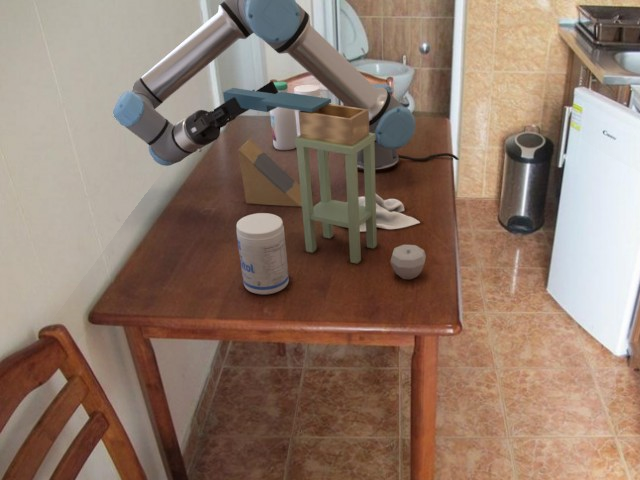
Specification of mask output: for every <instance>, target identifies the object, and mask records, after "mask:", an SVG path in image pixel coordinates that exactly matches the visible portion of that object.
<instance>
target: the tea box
mask: <svg viewBox="0 0 640 480" xmlns="http://www.w3.org/2000/svg"><path fill="white" fill-rule="evenodd" d="M299 123H300V133H301V134H300V135H301V137H303V138H309V139H314V140H320V141H326V142H332V143H338V144H344V145H349V146H353V145H354V144H356V143H357V142H359V141H360V140H362V139H363V138H365V137H367V136H368V135H369V110H368V109H361V108H355V107H348V106H346V105H340V104H333V103H329V104H327V105H325V106H323V107H321V108H320V109H318V110H316V111H314V112H307V111H299Z"/></svg>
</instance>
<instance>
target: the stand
mask: <svg viewBox="0 0 640 480" xmlns="http://www.w3.org/2000/svg"><path fill="white" fill-rule="evenodd" d="M294 140H295V145H296V155H297V156H296V158H297V168H298V179H299V185H300V191H301V202H302V206H301V212H302V221H303V222H302V223H303V233H304V243H305V244H304V245H305V252H308V253H312V254H313V253H314V252H315V251H316V250H317V240H316V239H317V237H316V226H315V222H320V223H322V235H323V238H325V239H331V238H332V237H334V226H337V227H342V228H347V229H348V242H349V243H348V244H349V261H350V263H352V264H356V265H357V264H359V263H360V262H361V261H362V253H361V252H362V251H361V232H360V225H361V224H363V223H364V222H365V221H366V231H365V236H366V237H365V238H366V239H365V240H366V248H368V249H375V248H376V247H377V246H378V231H377V230H378V228H377V227H376V194H377V193H376V191H377V190H376V189H377V187H376V172H375V149H374V141H375V134H374V133H369V135H368V136H367V137H365V138H363V139H362V140H360V141H359V142H357V143H356V144H354V145H353V146H349V145H344V144H338V143H332V142H326V141H320V140H314V139H309V138H303V137H301V135H300V136H298V137H296V138H294ZM309 149H315V150H316V152H317V166H318V180H319V181H318V182H319V193H320V194H319V195H320V201H319V202H318V203H316V204H315V205H314V202H313V201H314V200H313V189H312V178H311V167H310V166H311V165H310V151H309ZM362 149H363V153H364V172H363V177H364V180H363V181H364V197H365V206H360V205H359V198H358V197H359V178H358V174H359V173H358V170H357V152H359V151H360V150H362ZM329 152H331V153H336V154H342V155H344V164H345V182H346V183H345V184H346V185H345V186H346V202H345V201H340V200H336V199H332V190H331V189H332V188H331V187H332V186H331V175H330V173H331V172H330V158H329Z"/></svg>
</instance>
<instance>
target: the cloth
mask: <svg viewBox="0 0 640 480" xmlns="http://www.w3.org/2000/svg"><path fill="white" fill-rule="evenodd" d="M358 198H359V205H360V206H365V195H363V196H358ZM404 211H406V210H405V205H404V204H403V202H402V201H400V200H399V199H396V198H388V199H383V198H382V197H381V196H380V195H378V194H377V193H376V228H377V229H382V230H383V229H384V230H400V229H405V228H408V227H412V226H415V225H418V224H421V222H420V221H419V220H418V219H416V218H415V217H413V216H410V215H406V214H404V213H402V212H404ZM364 232H365V233H366V221H365V222H364V223H363V224H361V225H360V233H364Z"/></svg>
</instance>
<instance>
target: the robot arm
mask: <svg viewBox="0 0 640 480" xmlns="http://www.w3.org/2000/svg"><path fill="white" fill-rule="evenodd" d="M253 34H255V36H257V37H258V38H259V39H261V40H263V41H264V42H265V43H266V44H267V45H268V46H270V48H272V49H273V50H274V52H276V53H277V54H278V55H279V54H288V55H289V56H290V57H291V58H292V59H293V60H294V61H296V62H297V63H298V64H299V65H300V66H301V67H302V68H303V69H304V70H306V72H308V73H309V74H310V75H312V77H314V79H316V81H318V82H319V83H320V84H321V85H322V86H323V87H324V88H325V89H327V90H328V91H329V92H330V93H331V94H332V95H333V96H335V98H337V99H338V100H339V101H340V102H341V103H342V104H343V105H344V106H348V107H355V108H361V109H368V110H369V133H374V134H375V141H374V149H375V173H383V172H387V171H390V170H393V169H395V168H396V167H398V165H399V164H400V159H403V160H409V161H412V162H413V161H415V162H423V161H428V160H430V159H433V158H439V157H451V158H452V159H454V160H456V161H459V160H460V159H459V157H457V156H456V155H455V154H453V153H451V152H450V153H449V152H440V153H436V154H435V153H434V154H430V155H427V156H426V157H411V156H406V155H401V154H399V153H398V150H397V149H401V148H403V147H406V145H407V144H409V142H410V141H411V140H412V139H413V137H414V135H415V131H416V123H417V122H416V119H415V116H414V114H413V113H412V111H411V110H410V109H409V108H408V107H405V106H404V105H403V104H402V103H400V102H399V100H397V98H395V97H394V96H393V93H394V92H393V88H392V86H391V85H390V84H385V83H371V82H370V81H369V79H367V78H366V77H365V76H364V75H363V74H362V73H361V72H360V71H359V70H357V68H356V67H355V66H354V65H352V63H350V61H348V59H346V58H345V57H344V56H343V55H342V53H340V52H339V51H338V50H337V49H336V48H335V47H334V46H333V45H332V44H331V43H330V42H329V41H328V40H326V38H325V37H324V36H322V35H321V33H319V32H318V31H317V30H316V29H315V28H314V27H313V26H312V25H311V16H310V14H309V13H308V12H307V11H306V10H305V9H304V8H303V7H302V6H300V5H299V3H298V2H297V1H296V0H224V1H222V2H221V3H220V4H218V11H217V12H216V14H214V15H213V16H211V18H209V19H208V20H207V21H206V22H205V23H203V24H202V25H201V26H200V27H199V28H197V29H196V30H195V31H194V32H193V33H192V34H191V35H189V36H187V38H186V39H185V40H183V41H182V42H181V43H180V44H179V45H177V46H176V47H175V48H174V49H173V50H172V51H171V52H169V53H168V54H167V55H166V56H164V57H163V58H162V59H161V60H160V61H158V62H157V63H156V64H155V65H154V66H153V67H151V68H150V69H148V71H147V72H146V73H144V74H143V75H142V76H141V77H140V78H139V79H137V80H136V81H135V82H133V83H134V86H133V90H132V91H126V92H124V93H123V94H122V95H121V96H120V95H119V96H118V98H119V99H118V98H117V99H118V101H117V103H116V105H115V108H114V110H113V114H114V117H115V118H116V119H115V118H114V117H113V118H114V119H115V120H116V121H117V122H118V123H119V125H121V126H122V127H124V128H126V129H127V130H128V131H130V132H131V133H132V134H134V135H135V136H137V137H138V138H139V139H141V141H143V142H144V143H146V145H148V152H149V155H150V156H151V157H152V159H153V160H154V162H155V163H156V164H158V165H161V166H164V167H167V166H168V167H169V166H172V165H174V164H177V163H180V162H182V161H183V160H184V159H186V158H187V157H188V156H191V155H192V154H194V153H195V152H198V153H201V152H202V150H203V149H202V148H205V146H208V145H209V144H211V143H213V142H215V141H216V140H217V139H219V137H220V135H221V128H223V127H225V126H227V124H228V123H230V122H232V121H234V120H236V119H237V117H238V116H240V115H242V114H244V113H246V112H247V111H250V109H244V108H241V107H240V105H239V103H238V102H237V100H236V98H235V97H233V98H231V99H230V100H228V101H227V102H223V103H222V104H220V105H219V106H217V107H216V108H214V109H213V110H209V111H208V110H206V109H199V110H198V109H197V110H196V111H194V112H193V113H192V114H190V115H188V116H186V117H185V118H183V119H181V120H180V121H178V122H177V123H176V124H173V123H172V122H170V121H169V120H168V119H167V118H166V117H164V116H163V115H162V114H161V113H160V112H159V111H157V110H156V109H157V108H159V106H160V105H162V104H163V103H164V102H165V101H166V100H167V99H169V98H170V97H171V96H173V94H174V93H176V92H177V91H178V90H180V89H181V88H182V87H183V86H184V85H185V84H187V83H188V82H189V81H190V80H191V79H193V78H194V77H195V76H196V75H197V74H198V73H200V72H201V71H203V70H204V69H205V68H206V67H207V66H208V65H209V64H211V63H212V62H213V61H214V60H215V59H217V58H218V57H219V56H220V55H221V54H223V53H224V52H225V51H227V49H228V48H230V47H231V46H232V45H234V43H236V42H237V41H238V40H240V39H242V40H247V39H248V38H249V37H250V36H251V35H253ZM251 91H258V92H265V93H272V94H277V93H278V90H277V88H276V87H275V85H274V81H273V80H271V81H270V82H268V83H266V84H265V85H263V86H262V87H260V88H258V89H257V90H255V89H252V90H251ZM357 172H363V173H364V153H363V149H362V150H360V151H359V152H357Z"/></svg>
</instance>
